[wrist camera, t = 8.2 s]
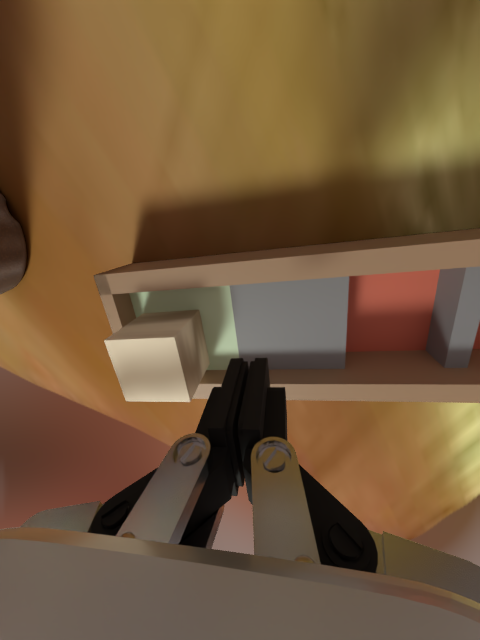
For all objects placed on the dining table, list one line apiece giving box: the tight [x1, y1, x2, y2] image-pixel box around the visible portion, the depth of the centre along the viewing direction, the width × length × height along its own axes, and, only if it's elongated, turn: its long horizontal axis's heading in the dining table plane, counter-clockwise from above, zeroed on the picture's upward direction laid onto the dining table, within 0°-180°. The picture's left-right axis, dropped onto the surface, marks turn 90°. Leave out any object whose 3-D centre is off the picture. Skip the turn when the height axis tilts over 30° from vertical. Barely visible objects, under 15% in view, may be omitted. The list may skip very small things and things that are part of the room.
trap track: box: [93, 228, 480, 403], centre depth 19 cm, size 11×34×5 cm, turn 97°
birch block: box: [104, 310, 210, 402], centre depth 19 cm, size 5×5×5 cm
